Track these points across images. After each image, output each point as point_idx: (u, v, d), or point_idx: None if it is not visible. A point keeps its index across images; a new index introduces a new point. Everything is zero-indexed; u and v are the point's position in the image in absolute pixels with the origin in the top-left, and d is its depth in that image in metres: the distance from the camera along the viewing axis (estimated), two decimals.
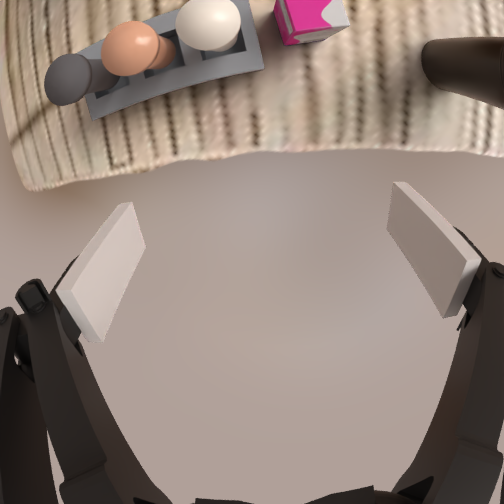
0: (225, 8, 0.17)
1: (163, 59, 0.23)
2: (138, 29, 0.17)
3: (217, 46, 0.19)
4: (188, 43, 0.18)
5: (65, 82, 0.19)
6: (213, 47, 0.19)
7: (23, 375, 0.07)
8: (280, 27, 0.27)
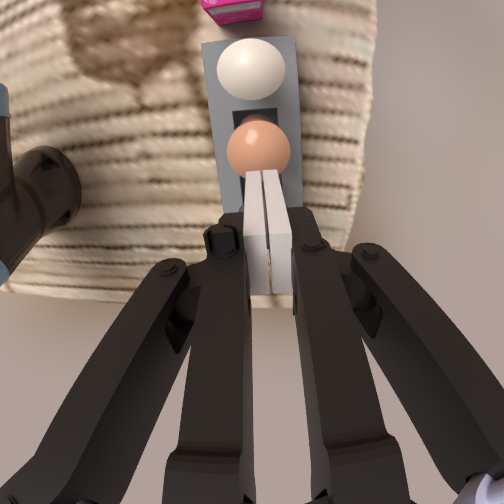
0: (238, 50, 0.18)
1: None
2: (240, 137, 0.22)
3: (283, 63, 0.19)
4: (273, 90, 0.20)
5: None
6: (283, 67, 0.19)
7: (166, 344, 0.08)
8: (242, 18, 0.26)
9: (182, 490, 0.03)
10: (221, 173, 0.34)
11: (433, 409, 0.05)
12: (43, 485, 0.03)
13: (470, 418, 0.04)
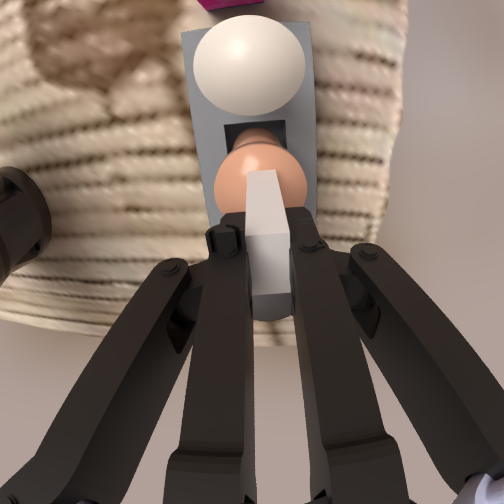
0: (228, 34, 0.10)
1: (277, 143, 0.20)
2: (234, 170, 0.15)
3: (302, 56, 0.11)
4: (285, 99, 0.12)
5: None
6: (303, 62, 0.11)
7: (168, 344, 0.08)
8: (238, 1, 0.18)
9: (183, 490, 0.03)
10: (210, 207, 0.26)
11: (432, 409, 0.05)
12: (44, 485, 0.03)
13: (469, 418, 0.04)
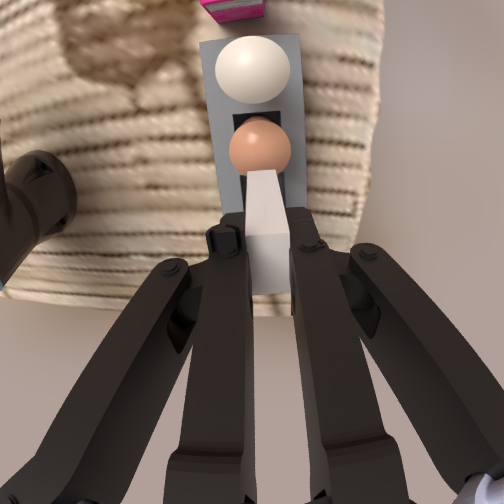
0: (239, 49, 0.16)
1: None
2: (242, 137, 0.23)
3: (288, 63, 0.17)
4: (277, 92, 0.18)
5: None
6: (288, 67, 0.17)
7: (168, 344, 0.08)
8: (243, 16, 0.24)
9: (183, 490, 0.03)
10: (221, 180, 0.32)
11: (432, 409, 0.05)
12: (44, 485, 0.03)
13: (469, 418, 0.04)
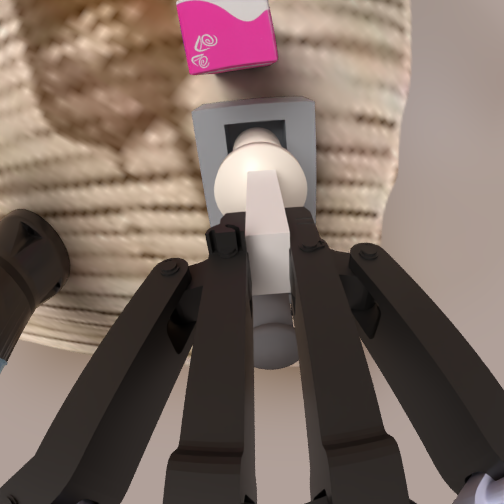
0: (243, 165, 0.15)
1: None
2: None
3: (305, 183, 0.16)
4: None
5: (276, 352, 0.23)
6: (305, 189, 0.16)
7: (168, 344, 0.08)
8: (245, 68, 0.22)
9: (183, 490, 0.03)
10: None
11: (432, 409, 0.05)
12: (44, 485, 0.03)
13: (469, 418, 0.04)
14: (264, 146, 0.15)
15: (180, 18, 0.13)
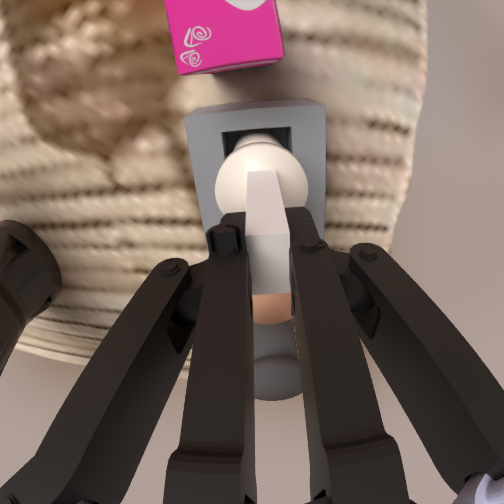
0: (244, 165, 0.15)
1: None
2: None
3: (306, 183, 0.16)
4: None
5: (279, 385, 0.21)
6: (306, 189, 0.16)
7: (168, 344, 0.08)
8: (245, 67, 0.20)
9: (183, 490, 0.03)
10: None
11: (432, 409, 0.05)
12: (44, 485, 0.03)
13: (469, 418, 0.04)
14: (265, 146, 0.15)
15: (167, 8, 0.10)
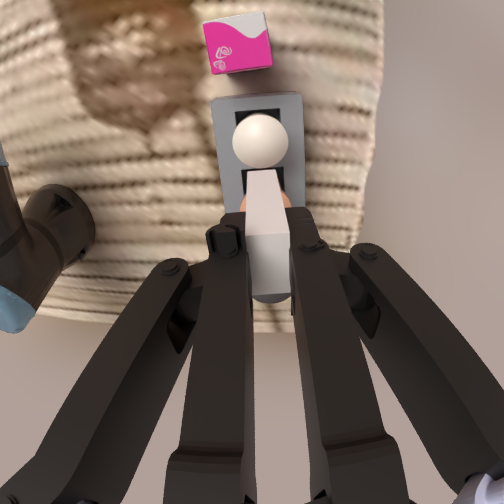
0: (250, 126, 0.25)
1: None
2: None
3: (287, 137, 0.26)
4: (278, 160, 0.27)
5: None
6: (287, 141, 0.26)
7: (168, 344, 0.08)
8: None
9: (183, 490, 0.03)
10: None
11: (432, 409, 0.05)
12: (44, 485, 0.03)
13: (469, 418, 0.04)
14: (262, 115, 0.24)
15: (206, 34, 0.20)
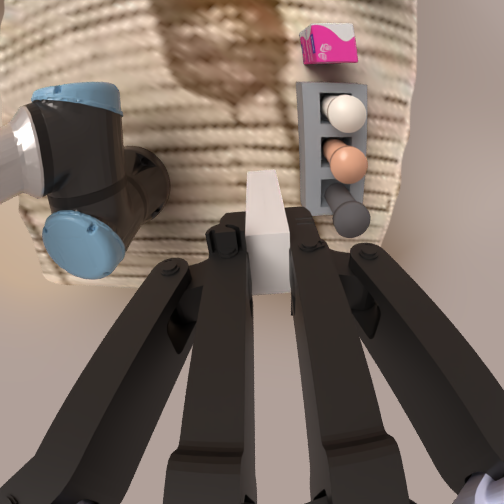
0: (342, 102, 0.32)
1: None
2: (341, 156, 0.36)
3: (365, 112, 0.33)
4: (359, 128, 0.34)
5: (355, 221, 0.38)
6: (365, 115, 0.33)
7: (168, 344, 0.08)
8: (326, 63, 0.37)
9: (183, 490, 0.03)
10: (308, 182, 0.45)
11: (432, 409, 0.05)
12: (44, 485, 0.03)
13: (469, 418, 0.04)
14: None
15: (313, 32, 0.28)
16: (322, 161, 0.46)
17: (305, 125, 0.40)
